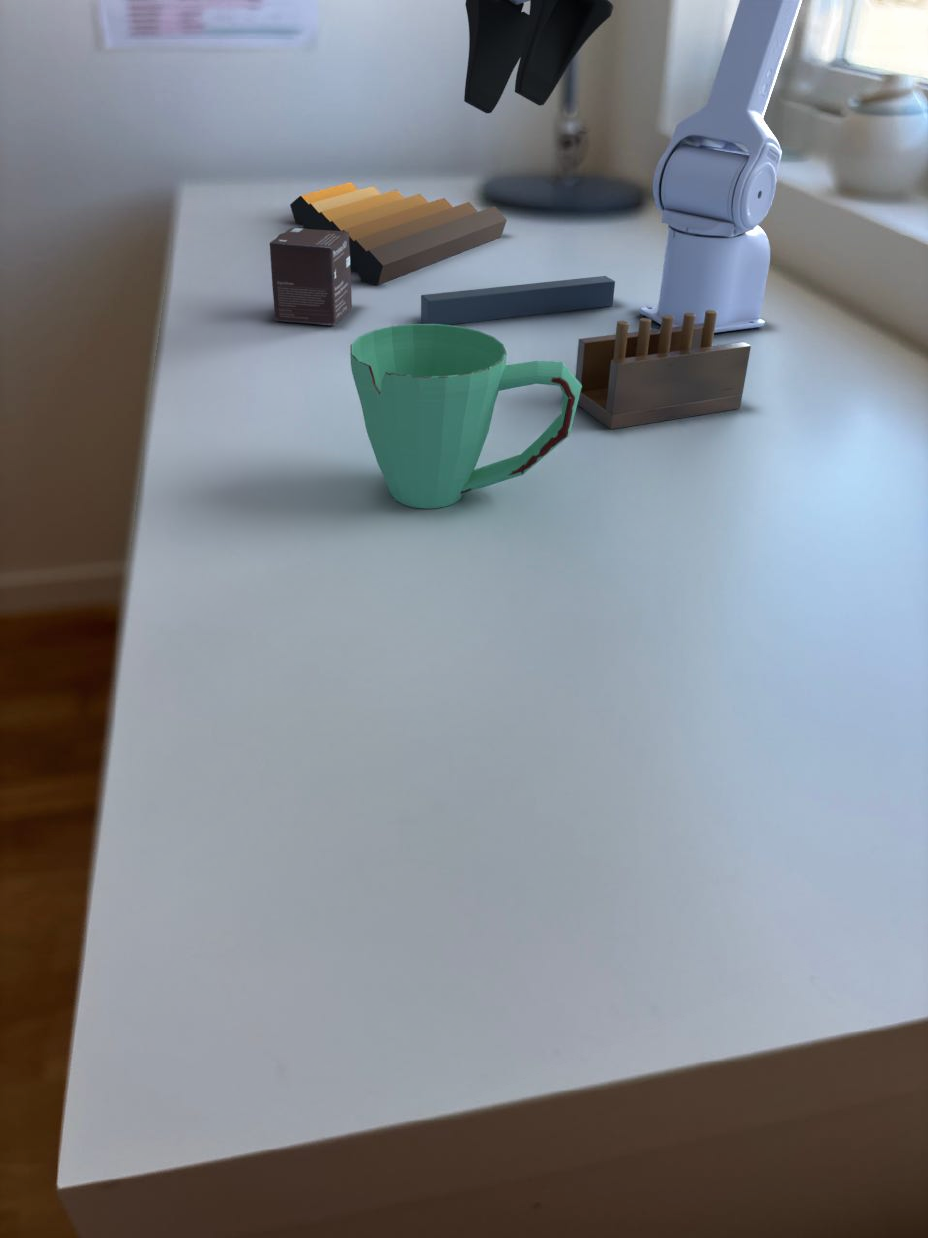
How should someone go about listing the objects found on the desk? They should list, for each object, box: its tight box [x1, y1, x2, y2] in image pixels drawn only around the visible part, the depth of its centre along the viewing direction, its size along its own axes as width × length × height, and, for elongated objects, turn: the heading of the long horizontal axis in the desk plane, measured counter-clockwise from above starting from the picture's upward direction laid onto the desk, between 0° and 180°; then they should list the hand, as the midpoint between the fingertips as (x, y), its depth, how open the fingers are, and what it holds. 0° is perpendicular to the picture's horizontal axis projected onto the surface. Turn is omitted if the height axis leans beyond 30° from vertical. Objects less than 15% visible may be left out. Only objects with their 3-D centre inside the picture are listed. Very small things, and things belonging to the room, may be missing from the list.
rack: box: [574, 310, 752, 430], centre depth 86 cm, size 12×6×7 cm, turn 114°
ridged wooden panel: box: [289, 181, 508, 286], centre depth 127 cm, size 25×3×25 cm
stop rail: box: [420, 275, 616, 325], centre depth 106 cm, size 20×2×2 cm, turn 114°
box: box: [269, 227, 353, 326], centre depth 103 cm, size 6×6×7 cm
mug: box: [349, 323, 582, 510], centre depth 71 cm, size 15×10×10 cm
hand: (502, 102), depth 75 cm, fingers open, 7 cm apart
